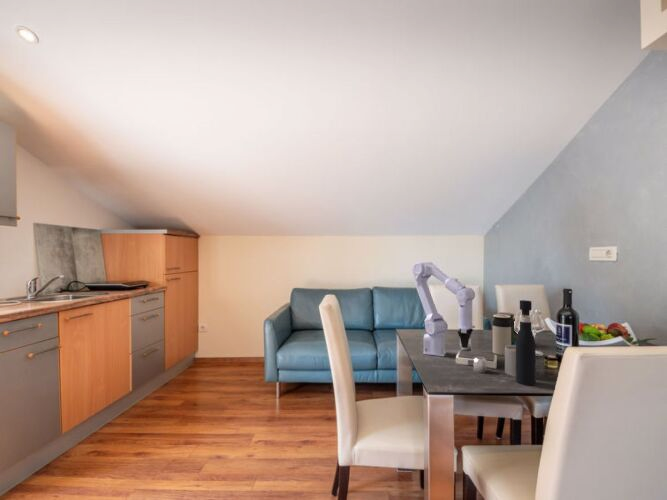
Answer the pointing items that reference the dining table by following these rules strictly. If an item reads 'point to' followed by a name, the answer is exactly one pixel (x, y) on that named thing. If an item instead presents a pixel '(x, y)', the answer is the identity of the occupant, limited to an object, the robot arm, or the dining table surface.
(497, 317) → the travel mug
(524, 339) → the black water bottle
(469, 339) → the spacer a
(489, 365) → the cream u-shaped bracket
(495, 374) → the dining table surface
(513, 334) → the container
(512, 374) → the grey upright block
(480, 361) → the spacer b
